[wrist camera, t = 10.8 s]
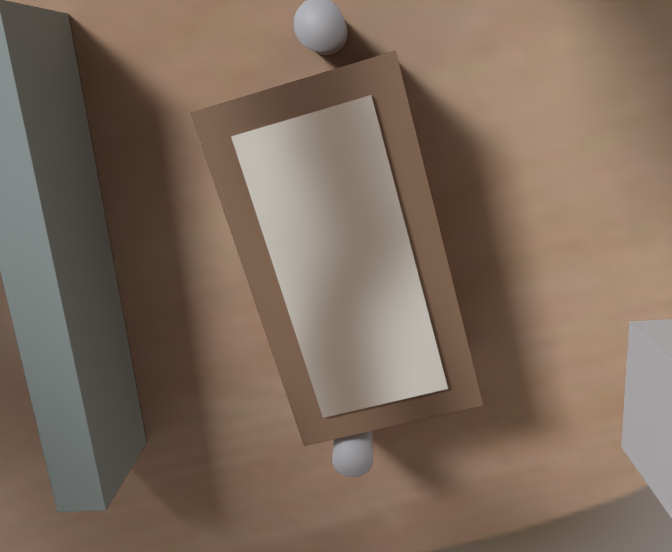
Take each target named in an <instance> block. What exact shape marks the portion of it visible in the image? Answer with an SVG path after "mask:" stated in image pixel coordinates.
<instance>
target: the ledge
mask: <svg viewBox="0 0 672 552" xmlns="http://www.w3.org/2000/svg"><path fill="white" fill-rule="evenodd" d="M294 30H295V34H296V36H297V38H298V40H299V41H300V42H301V43H302V44H303V45H304V46H305V47H307V48H308V49H311V50H313V51H315V52H317V53H319V54H322V55H332V54H335V53H337V52H339V51H340V50H341V49H342V48H343V47H344V45H345V43H346V41H347V36H348V30H347V26H346V23H345V21H344V18H343V16H342V13H341V11H340V10H339V8H338V7H337V6H336V5H335V4H334V3H333V2H332V1H330V0H307V1H305V2H304V3H303V4H302V5H301V6H300V7H299V8H298V10H297V12H296V14H295V18H294ZM0 272H1V276H2V281H3V285H4V289H5V293H6V297H7V302H8V306H9V310H10V314H11V318H12V323H13V327H14V331H15V335H16V340H17V344H18V348H19V352H20V356H21V361H22V365H23V369H24V373H25V377H26V382H27V386H28V390H29V394H30V398H31V403H32V407H33V411H34V415H35V420H36V424H37V428H38V432H39V436H40V441H41V445H42V449H43V453H44V457H45V462H46V466H47V470H48V474H49V478H50V483H51V487H52V491H53V495H54V499H55V504H56V508H57V512H76V511H105V510H106V509H107V508H108V506H109V504H110V503H111V501H112V499H113V498H114V496H115V494H116V493H117V491H118V489H119V488H120V486H121V484H122V483H123V481H124V479H125V478H126V476H127V475H128V473H129V471H130V470H131V468H132V466H133V465H134V463H135V461H136V460H137V458H138V456H139V455H140V453H141V451H142V450H143V448H144V446H145V445H146V443H147V442H146V436H145V431H144V425H143V420H142V415H141V409H140V404H139V398H138V393H137V387H136V382H135V376H134V371H133V365H132V360H131V354H130V349H129V344H128V338H127V333H126V327H125V322H124V316H123V311H122V305H121V300H120V294H119V289H118V284H117V278H116V273H115V267H114V262H113V256H112V251H111V245H110V240H109V234H108V229H107V223H106V218H105V213H104V207H103V202H102V196H101V191H100V185H99V180H98V174H97V169H96V163H95V158H94V152H93V147H92V142H91V136H90V131H89V125H88V120H87V114H86V109H85V103H84V98H83V92H82V87H81V82H80V76H79V71H78V65H77V60H76V54H75V49H74V43H73V38H72V32H71V27H70V21H69V16H68V14H67V13H62V12H57V11H53V10H48V9H43V8H38V7H34V6H29V5H24V4H19V3H15V2H10V1H5V0H0ZM332 462H333V465H334V467H335V469H336V470H337V471H338V472H339V473H340V474H342V475H344V476H347V477H359V476H362V475H364V474H366V473H367V472H368V471H369V470H370V468H371V466H372V464H373V431H369V432H364V433H360V434H355V435H351V436H347V437H342V438H338V439H334V444H333V455H332Z"/></svg>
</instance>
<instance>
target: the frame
mask: <svg viewBox="0 0 672 552" xmlns="http://www.w3.org/2000/svg"><path fill="white" fill-rule="evenodd" d="M191 116H192V119H193V122H194V125H195V128H196V131H197V134H198V137H199V139H200V142H201V145H202V148H203V151H204V154H205V157H206V160H207V163H208V166H209V169H210V172H211V175H212V178H213V180H214V183H215V186H216V189H217V192H218V195H219V198H220V201H221V204H222V207H223V210H224V213H225V216H226V219H227V221H228V224H229V227H230V230H231V233H232V236H233V239H234V242H235V245H236V248H237V251H238V254H239V257H240V260H241V263H242V265H243V268H244V271H245V274H246V277H247V280H248V283H249V286H250V289H251V292H252V295H253V298H254V301H255V304H256V306H257V309H258V312H259V315H260V318H261V321H262V324H263V327H264V330H265V333H266V336H267V339H268V342H269V345H270V347H271V350H272V353H273V356H274V359H275V362H276V365H277V368H278V371H279V374H280V377H281V380H282V383H283V386H284V388H285V391H286V394H287V397H288V400H289V403H290V406H291V409H292V412H293V415H294V418H295V421H296V424H297V427H298V430H299V432H300V435H301V438H302V441H303V444H304V446H307V445H311V444H316V443H320V442H325V441H329V440H333V439H338V438H342V437H347V436H351V435H355V434H360V433H364V432H369V431H373V430H377V429H382V428H386V427H391V426H395V425H399V424H404V423H408V422H413V421H417V420H421V419H426V418H430V417H435V416H439V415H443V414H448V413H452V412H457V411H461V410H465V409H470V408H474V407H479V406H483V402H482V398H481V394H480V390H479V386H478V382H477V378H476V374H475V370H474V366H473V362H472V357H471V353H470V349H469V345H468V341H467V337H466V333H465V329H464V325H463V321H462V317H461V313H460V309H459V305H458V301H457V297H456V293H455V289H454V285H453V281H452V277H451V273H450V268H449V264H448V260H447V256H446V252H445V248H444V244H443V240H442V236H441V232H440V228H439V224H438V220H437V216H436V212H435V208H434V204H433V200H432V196H431V192H430V188H429V183H428V179H427V175H426V171H425V167H424V163H423V159H422V155H421V151H420V147H419V143H418V139H417V135H416V131H415V127H414V123H413V119H412V115H411V111H410V107H409V103H408V98H407V94H406V90H405V86H404V82H403V78H402V74H401V70H400V66H399V62H398V58H397V54H396V51H392V52H389V53H386V54H383V55H379V56H376V57H373V58H369V59H366V60H363V61H359V62H356V63H353V64H350V65H346V66H343V67H340V68H336V69H333V70H330V71H327V72H323V73H320V74H317V75H313V76H310V77H307V78H303V79H300V80H297V81H294V82H290V83H287V84H284V85H280V86H277V87H274V88H271V89H267V90H264V91H261V92H257V93H254V94H251V95H247V96H244V97H241V98H238V99H234V100H231V101H228V102H224V103H221V104H218V105H215V106H211V107H208V108H205V109H201V110H198V111H195V112H191Z"/></svg>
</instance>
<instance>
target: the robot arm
mask: <svg viewBox="0 0 672 552" xmlns="http://www.w3.org/2000/svg"><path fill="white" fill-rule="evenodd" d="M621 447H622V449H623V450H624V451H625V453H626V454H627V456H628V457H629V458H630V460H631V461H632V463H633V464H634V466H635V467H636V468H637V470H638V471H639V473H640V474H641V475H642V477H643V478H644V480H645V481H646V483H647V484H648V485H649V487H650V488H651V490H652V491H653V492H654V494H655V495H656V497H657V498H658V499H659V501H660V502H661V504H662V505H663V507H664V508H665V509H666V511H667V512H668V514H669V515H670V516H671V518H672V320H671V319H666V320H649V321H632V322H630V323H629V338H628V353H627V369H626V384H625V399H624V414H623V429H622V445H621Z"/></svg>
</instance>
